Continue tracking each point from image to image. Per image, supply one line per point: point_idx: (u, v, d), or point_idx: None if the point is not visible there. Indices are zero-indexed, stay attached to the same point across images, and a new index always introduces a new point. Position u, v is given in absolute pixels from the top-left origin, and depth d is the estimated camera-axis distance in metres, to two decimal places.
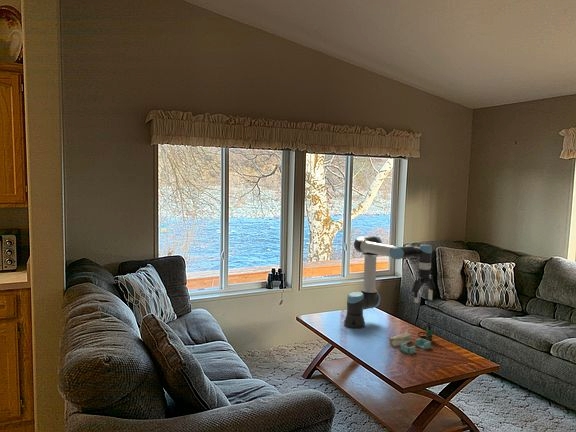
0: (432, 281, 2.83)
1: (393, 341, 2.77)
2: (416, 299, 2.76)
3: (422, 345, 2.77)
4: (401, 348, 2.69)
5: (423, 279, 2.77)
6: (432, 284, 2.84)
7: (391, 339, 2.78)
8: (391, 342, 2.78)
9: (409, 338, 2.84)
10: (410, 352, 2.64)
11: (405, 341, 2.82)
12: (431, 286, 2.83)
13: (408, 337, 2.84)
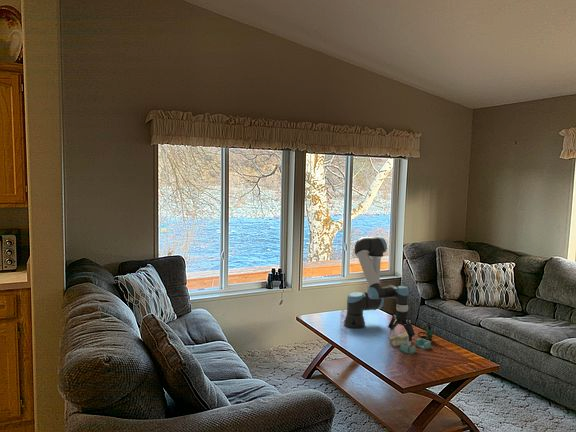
0: (408, 327, 2.75)
1: (393, 341, 2.77)
2: None
3: (422, 345, 2.77)
4: (401, 348, 2.69)
5: None
6: (410, 330, 2.75)
7: (391, 339, 2.78)
8: (391, 342, 2.78)
9: None
10: (410, 352, 2.64)
11: (405, 341, 2.82)
12: (407, 331, 2.76)
13: None
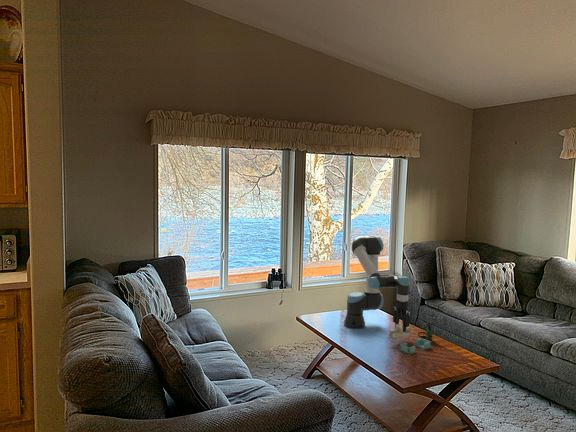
0: (406, 318, 2.77)
1: (393, 333, 2.77)
2: None
3: (422, 345, 2.77)
4: (401, 348, 2.69)
5: None
6: (406, 321, 2.77)
7: (391, 332, 2.78)
8: (391, 334, 2.78)
9: (409, 331, 2.85)
10: (410, 352, 2.64)
11: (405, 333, 2.82)
12: (403, 322, 2.79)
13: (408, 329, 2.84)
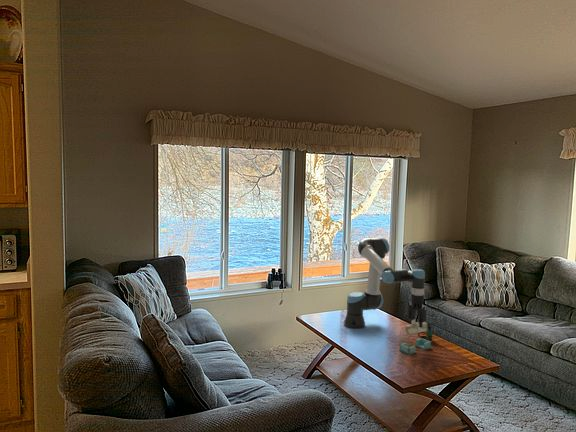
0: (422, 312, 2.66)
1: (409, 329, 2.66)
2: None
3: (422, 345, 2.77)
4: (401, 348, 2.69)
5: None
6: (422, 316, 2.66)
7: (407, 327, 2.67)
8: (407, 330, 2.67)
9: (425, 327, 2.74)
10: (410, 352, 2.64)
11: (421, 329, 2.71)
12: (419, 317, 2.68)
13: (424, 325, 2.73)
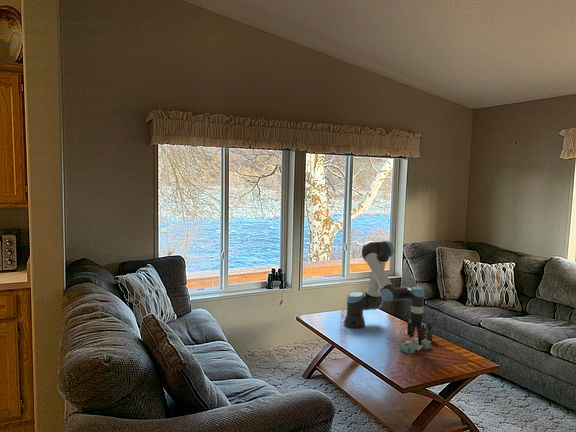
0: (421, 331, 2.67)
1: (408, 345, 2.67)
2: None
3: None
4: (401, 348, 2.69)
5: None
6: (421, 334, 2.67)
7: (406, 344, 2.68)
8: None
9: None
10: (410, 352, 2.64)
11: None
12: (418, 335, 2.69)
13: (423, 341, 2.74)
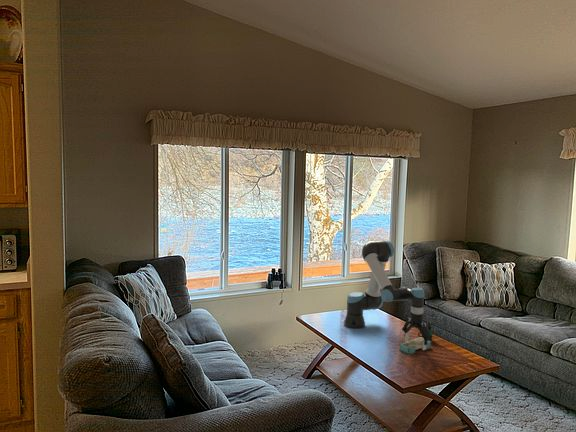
0: (424, 330, 2.65)
1: (408, 345, 2.67)
2: None
3: None
4: (401, 348, 2.69)
5: None
6: None
7: (406, 344, 2.68)
8: None
9: None
10: (410, 352, 2.64)
11: (420, 345, 2.72)
12: (422, 335, 2.66)
13: None
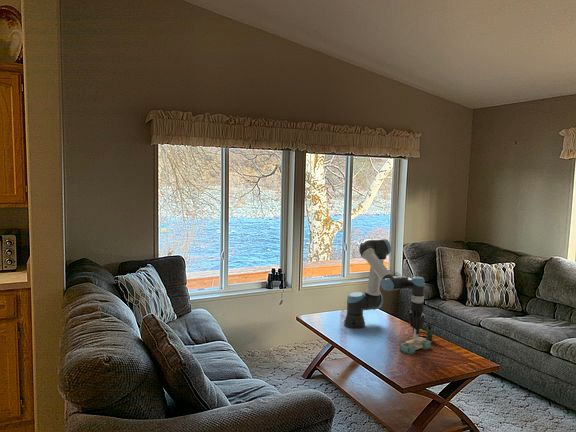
0: (420, 320, 2.67)
1: (408, 345, 2.67)
2: None
3: None
4: (401, 348, 2.69)
5: None
6: None
7: (406, 344, 2.68)
8: None
9: None
10: (410, 352, 2.64)
11: (420, 345, 2.72)
12: (416, 324, 2.69)
13: (424, 341, 2.74)
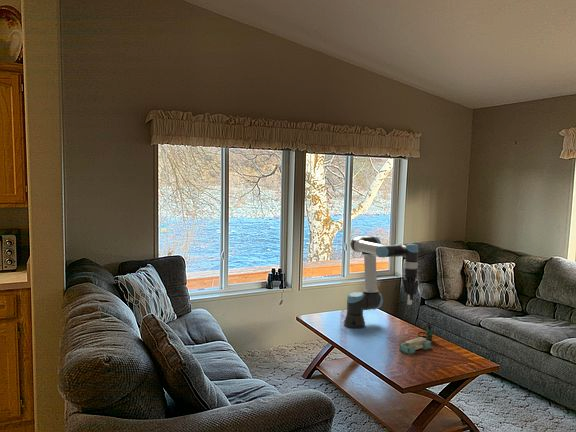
0: (414, 285, 2.73)
1: (408, 345, 2.67)
2: None
3: None
4: (401, 348, 2.69)
5: None
6: None
7: (406, 344, 2.68)
8: None
9: None
10: (410, 352, 2.64)
11: (420, 345, 2.72)
12: (410, 290, 2.76)
13: (424, 341, 2.74)
